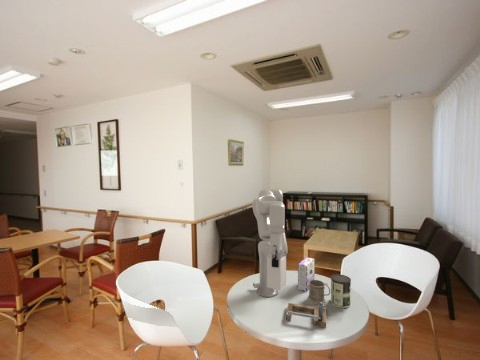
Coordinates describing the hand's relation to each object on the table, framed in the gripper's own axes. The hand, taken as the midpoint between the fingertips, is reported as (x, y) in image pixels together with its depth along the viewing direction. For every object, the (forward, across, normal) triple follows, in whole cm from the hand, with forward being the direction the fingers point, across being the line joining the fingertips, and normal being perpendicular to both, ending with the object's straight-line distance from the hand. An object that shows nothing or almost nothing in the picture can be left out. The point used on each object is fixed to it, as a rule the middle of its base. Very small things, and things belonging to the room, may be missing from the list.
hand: (276, 263), depth 126 cm
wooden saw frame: (+28, -5, +14) cm, 32 cm away
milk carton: (+12, 0, 0) cm, 12 cm away
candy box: (+28, -38, +12) cm, 49 cm away
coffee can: (+28, -24, +31) cm, 49 cm away
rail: (+28, 0, +13) cm, 31 cm away
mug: (+28, -22, +20) cm, 41 cm away
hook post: (+25, 0, +21) cm, 33 cm away
